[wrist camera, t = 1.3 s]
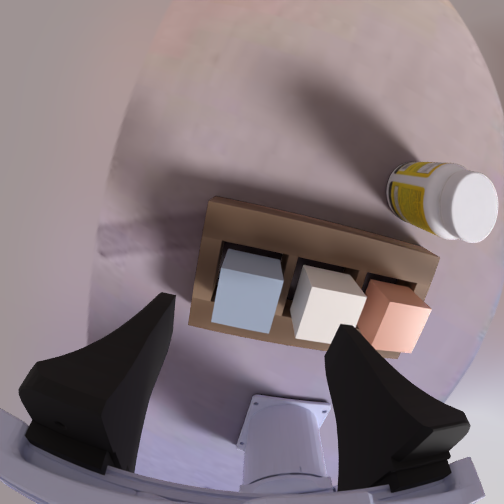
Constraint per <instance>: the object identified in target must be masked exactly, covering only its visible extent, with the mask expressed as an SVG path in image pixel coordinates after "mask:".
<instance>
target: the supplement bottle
mask: <svg viewBox="0 0 504 504" xmlns="http://www.w3.org/2000/svg"><path fill="white" fill-rule="evenodd" d="M386 194H387V201H388V204H389V206H390V208H391V210H392V211H393V213H394V214H395V215H396V216H397V217H398V218H400V219H401V220H403V221H405V222H408V223H410V224H412V225H415V226H417V227H419V228H421V229H423V230H426V231H428V232H430V233H432V234H434V235H437V236H439V237H441V238H444V239H448V240H454V239H460V240H463V241H466V242H469V243H476V242H479V241H481V240H483V239H484V238H486V237H487V236H488V235H489V233H490V232H491V230H492V229H493V227H494V225H495V222H496V219H497V214H498V197H497V193H496V190H495V187H494V185H493V184H492V182H491V181H490V179H489V178H488V177H486V176H485V175H484V174H482V173H479V172H474V171H469V170H467V169H466V168H465V167H463V166H461V165H458V164H455V163H438V162H406V163H403V164H401V165H399V166H398V167H397V168H396V169H395V170H394V171H393V172H392V174H391V176H390V178H389V180H388V184H387V191H386Z"/></svg>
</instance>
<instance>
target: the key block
mask: <svg viewBox="0 0 504 504" xmlns="http://www.w3.org/2000/svg"><path fill="white" fill-rule="evenodd" d="M225 241H227V242H232V243H236V244H241V245H246V246H250V247H255V248H260V249H264V250H269V251H273V252H278V253H283V255H282V259H281V263H280V264H281V269H282V274H283V279H284V282H283V286H282V289H281V293H280V296H279V300H278V304H277V307H276V311H275V314H274V318H273V321H272V325H271V328H270V332H269V334H268V333H263V332H257V331H252V330H247V329H242V328H237V327H232V326H228V325H223V324H218V323H214V322H211V320H212V314H213V309H214V303H215V298H216V293H217V287H218V285H216V284H217V279H218V273H219V268H220V263H221V258H222V253H223V247H224V242H225ZM298 257H301V258H306V259H310V260H315V261H319V262H324V263H328V264H333V265H338V266H342V267H345V268H344V271H343V273H344V274H349V275H351V277H352V278H353V279H354V281H355V282H356V283H357V285H358V286H359V287H360V289H362V286H363V283H364V280H365V277H366V274H367V272H369V273H374V274H378V275H383V276H387V277H392V278H396V279H398V280H397V283H396V285H401V286H405V287H409V288H410V289H411V290H412V291H413V292H414V293H415V294H416V295H417V296H419V297H420V298H421V299H422V300H423V301H424V300H425V297H426V295H427V292H428V290H429V287H430V284H431V282H432V279H433V276H434V274H435V271H436V268H437V265H438V262H439V259H440V257H438V256H437V255H435V254H433V253H432V252H430V251H428V250H427V249H425V248H423V247H421V246H418V245H414V244H411V243H407V242H404V241H400V240H397V239H393V238H389V237H386V236H382V235H379V234H375V233H371V232H367V231H364V230H360V229H356V228H352V227H348V226H344V225H340V224H337V223H333V222H329V221H325V220H320V219H316V218H312V217H308V216H304V215H300V214H296V213H291V212H287V211H283V210H278V209H274V208H269V207H265V206H260V205H256V204H251V203H247V202H242V201H237V200H232V199H228V198H223V197H218V196H215V197H213V198H212V199H211V200H209V201H208V206H207V212H206V217H205V222H204V228H203V234H202V239H201V245H200V251H199V257H198V263H197V269H196V275H195V282H194V288H193V295H192V301H191V308H190V315H189V322H188V325H190V326H195V327H199V328H203V329H208V330H212V331H217V332H221V333H226V334H231V335H236V336H240V337H245V338H251V339H256V340H261V341H267V342H272V343H278V344H284V345H290V346H296V347H302V348H309V349H315V350H322V351H327V350H328V348H329V346H330V344H328V343H322V342H315V341H309V340H302V339H296V338H295V334H294V328H293V323H292V318H291V312H290V308H291V305H292V302H293V300H288V299H287V295H288V292H289V288H290V285H291V281H292V278H293V274H294V271H295V267H296V263H297V260H298ZM355 328H356V329H357V330H358V331H359V332H360V330H359V328H358V326H357V325H356V327H355ZM360 333H361V332H360ZM377 352H378V353H379V354H380V355H381V356H382V357H383V358H392V359H398V357H399V355H400V353H401V352H394V351H384V350H377Z"/></svg>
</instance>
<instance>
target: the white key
mask: <svg viewBox="0 0 504 504" xmlns="http://www.w3.org/2000/svg"><path fill="white" fill-rule="evenodd" d="M366 299H367V297H366V295H365V294H364V293H363V291H362V290H361V289H360V287H359V286H358V285H357V283H356V282H355V281H354V279H353V278H352V277H351V275H349V274H344V273H340V272H335V271H330V270H326V269H321V268H316V267H312V266H307V265H303V267H302V271H301V274H300V278H299V281H298V285H297V288H296V291H295V295H294V298H293V302H292V305H291V308H290V312H291V318H292V323H293V328H294V334H295V338H296V339H302V340H309V341H315V342H322V343H328V344H331V342H332V340H333V338H334V336H335V334H336V332H337V330H338V328H339V326H340V324H346V325H353V326H354V327H356V325H357V322H358V320H359V317H360V315H361V312H362V309H363V307H364V304H365V302H366Z"/></svg>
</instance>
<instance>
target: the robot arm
mask: <svg viewBox="0 0 504 504" xmlns="http://www.w3.org/2000/svg"><path fill="white" fill-rule="evenodd" d="M175 299H176V295H172V294H168V293H163V292H161V293H160V294H158V295H157V296H156V297H155V298H154V299H153V300H152V301H151V302H150V303H149V304H148V305H147V306H146V307H145V308H143V309H142V310H141V311H140V312H139V313H137V314H136V315H135V316H134V317H133V318H131V319H130V320H129V321H127V322H126V323H125V324H123V325H122V326H121V327H119V328H118V329H116V330H115V331H113V332H112V333H110V334H109V335H107V336H105V337H104V338H102V339H100V340H98V341H96V342H94V343H92V344H90V345H88V346H86V347H84V348H81V349H79V350H77V351H74V352H71V353H68V354H65V355H62V356H59V357H55V358H51V359H47V360H43V361H39V362H37V363H36V364H35V365H34V366H33V368H32V369H31V370H30V372H29V374H28V375H27V376H26V378H25V380H24V381H23V383H22V384H21V386H20V388H19V396H20V398H21V401H22V403H23V405H24V406H25V408H26V410H27V412H28V413H29V415H30V416H31V418H32V422H31V424H30V426H28V425H27V424H26V423H25V422H23V421H22V420H20V419H19V418H17V417H15V416H13V415H12V414H10V413H8V412H6V411H5V410H3V409H1V408H0V481H1V482H3V483H4V484H5V485H7V486H8V487H10V488H12V489H13V490H15V491H17V492H18V493H20V494H21V495H23V496H25V497H27V498H28V499H30V500H32V501H34V502H36V503H37V504H474V503H476V502H478V501H479V500H481V499H483V498H484V497H485V493H484V490H483V488H482V485H481V482H480V480H479V477H478V475H477V472H476V469H475V467H474V465H473V462H472V460H471V457H467V458H464V459H461V460H458V461H455V462H453V463H451V464H448V461H447V459H449V458H450V457H451V455H450V453H449V450H450V449H452V448H453V446H455V445H456V444H457V443H458V442H459V441H460V440H461V439H462V438H463V437H464V436H465V435H466V434H467V433H468V431H469V429H470V424H469V422H468V420H467V418H466V415H465V413H464V412H463V411H460V410H458V409H455V408H453V407H451V406H449V405H446V404H444V403H443V402H441V401H439V400H437V399H435V398H433V397H432V396H430V395H428V394H427V393H425V392H424V391H422V390H421V389H419V388H418V387H416V386H415V385H414V384H412V383H411V382H410V381H409V380H407V379H406V378H405V377H404V376H402V375H401V374H400V373H399V372H398V371H397V370H396V369H394V368H393V367H392V366H391V365H390V364H389V363H388V362H387V361H386V360H385V359H384V358H383V357H382V356H381V355H380V354H379V353H378V352H377V350H376V349H375V348H374V347H373V346H372V345H371V344H370V343H369V342H368V341H367V340H366V339H365V338H364V336H363V335H362V334H361V333H360V332H359V331H358V330H357V329H356V328H355V327H354V326H353V325H346V324H340V326H339V328H338V330H337V332H336V334H335V336H334V338H333V340H332V342H331V344H330V346H329V348H328V350H327V352H326V354H325V356H324V357H325V370H326V377H327V382H328V386H329V391H330V395H331V399H332V404H333V408H334V412H335V417H336V423H337V434H338V451H339V475H338V485H337V486H333V487H332V481H331V477H327V472H326V466H325V460H324V455H323V449H322V443H321V438H320V432H319V428H320V427H321V425H322V423H323V421H324V420H325V418H326V416H327V414H328V413H329V411H330V409H331V405H330V404H329V403H324V402H312V401H303V400H294V399H286V398H278V397H271V396H264V395H254V396H253V397H252V400H251V403H250V406H249V409H248V412H247V415H246V418H245V421H244V424H243V427H242V430H241V433H240V436H239V439H238V442H237V445H236V449H238V450H242V451H245V453H244V469H243V485H240V490H239V492H232V491H223V490H214V489H207V488H200V487H194V486H188V485H182V484H177V483H172V482H167V481H163V480H158V479H154V478H150V477H146V476H142V475H138V474H135V473H134V471H135V465H136V459H137V453H138V448H139V443H140V438H141V433H142V428H143V424H144V419H145V415H146V411H147V407H148V403H149V399H150V396H151V393H152V390H153V388H154V385H155V382H156V380H157V377H158V375H159V372H160V370H161V367H162V365H163V362H164V359H165V357H166V354H167V352H168V348H169V344H170V340H171V337H172V333H173V322H174V310H175ZM254 402H258V403H254ZM323 410H325V411H323Z"/></svg>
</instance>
